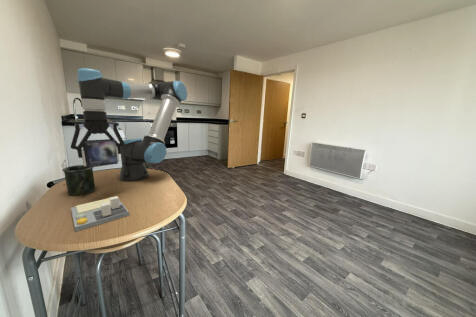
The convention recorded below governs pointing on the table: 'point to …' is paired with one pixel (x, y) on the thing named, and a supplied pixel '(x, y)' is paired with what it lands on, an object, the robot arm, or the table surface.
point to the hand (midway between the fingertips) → (102, 163)
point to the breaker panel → (95, 214)
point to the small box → (100, 152)
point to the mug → (79, 180)
